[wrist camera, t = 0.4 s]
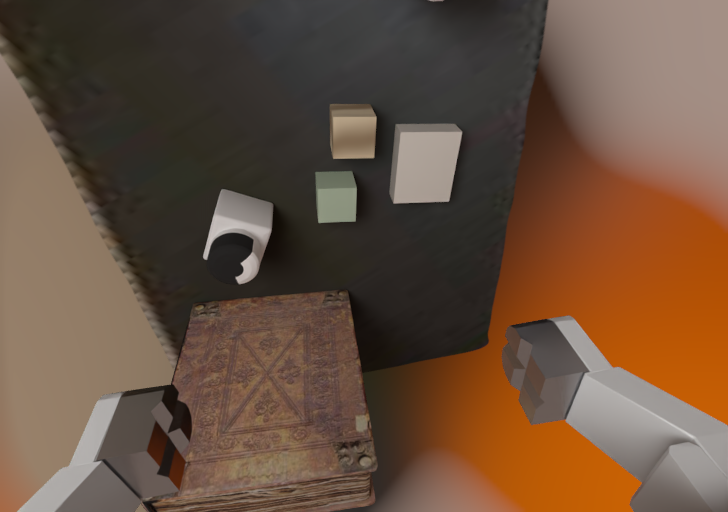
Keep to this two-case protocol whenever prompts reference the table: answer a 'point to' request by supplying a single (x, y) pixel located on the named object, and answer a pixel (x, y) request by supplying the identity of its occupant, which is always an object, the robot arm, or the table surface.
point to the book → (273, 408)
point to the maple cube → (352, 131)
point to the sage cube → (336, 196)
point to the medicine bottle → (238, 237)
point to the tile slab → (424, 162)
